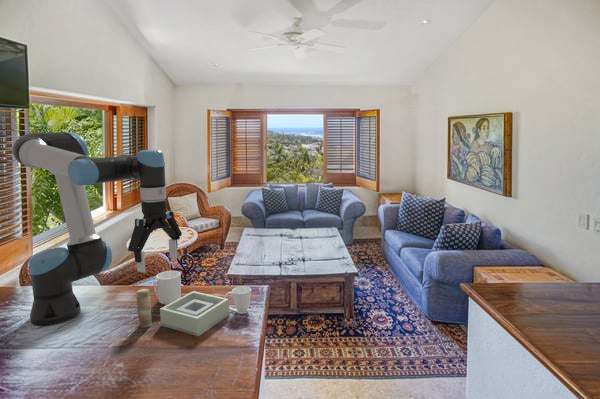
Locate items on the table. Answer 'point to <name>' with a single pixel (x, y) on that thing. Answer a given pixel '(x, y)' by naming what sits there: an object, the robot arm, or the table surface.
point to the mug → (168, 286)
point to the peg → (144, 308)
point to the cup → (241, 299)
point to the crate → (194, 313)
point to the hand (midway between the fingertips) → (158, 264)
